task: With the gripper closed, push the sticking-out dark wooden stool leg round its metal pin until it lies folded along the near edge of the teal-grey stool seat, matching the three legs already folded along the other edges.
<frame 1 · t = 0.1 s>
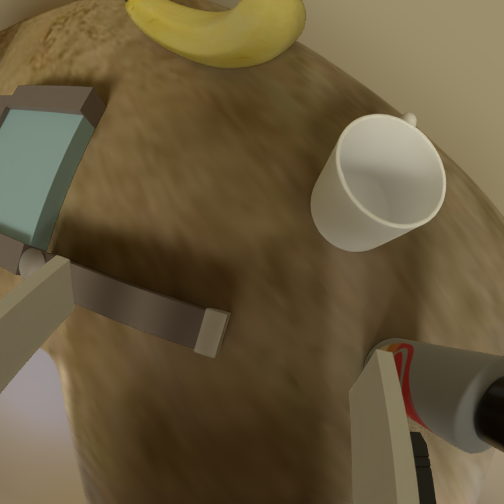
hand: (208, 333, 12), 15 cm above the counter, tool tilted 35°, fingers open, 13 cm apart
lotion bottle: (388, 366, 27), on the counter
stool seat: (29, 176, 30), on the counter
cup: (359, 194, 30), on the counter
folding leg: (114, 297, 25), point 2 cm above the counter, hinge at -90.0°
banana: (205, 55, 32), on the counter
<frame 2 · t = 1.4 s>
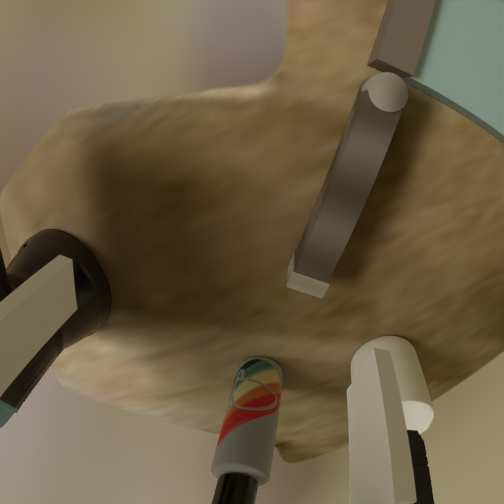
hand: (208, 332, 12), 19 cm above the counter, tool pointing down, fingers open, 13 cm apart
lotion bottle: (260, 370, 39), on the counter
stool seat: (480, 58, 20), on the counter
cup: (392, 364, 36), on the counter
folding leg: (347, 184, 25), point 2 cm above the counter, hinge at -90.0°
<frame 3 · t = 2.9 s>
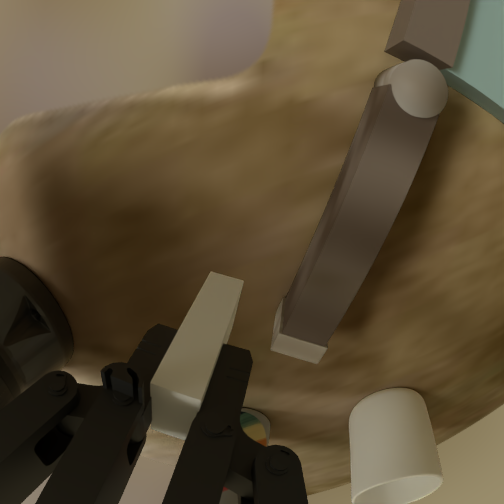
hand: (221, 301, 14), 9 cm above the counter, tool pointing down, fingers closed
lotion bottle: (245, 420, 32), on the counter
cup: (397, 414, 29), on the counter
folding leg: (355, 218, 18), point 2 cm above the counter, hinge at -90.0°
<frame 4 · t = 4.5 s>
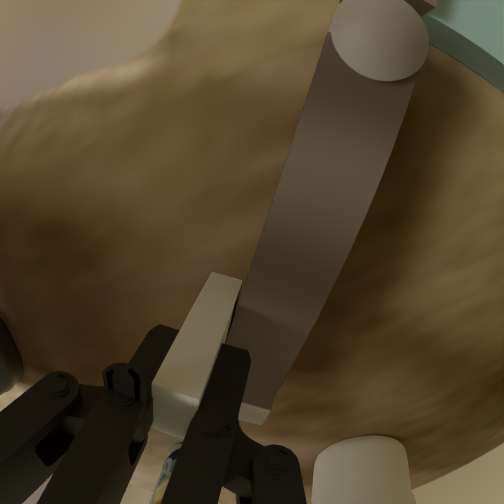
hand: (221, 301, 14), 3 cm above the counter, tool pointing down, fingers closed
lotion bottle: (199, 454, 27), on the counter
cup: (373, 459, 23), on the counter
folding leg: (298, 243, 13), point 2 cm above the counter, hinge at -88.3°, touching gripper
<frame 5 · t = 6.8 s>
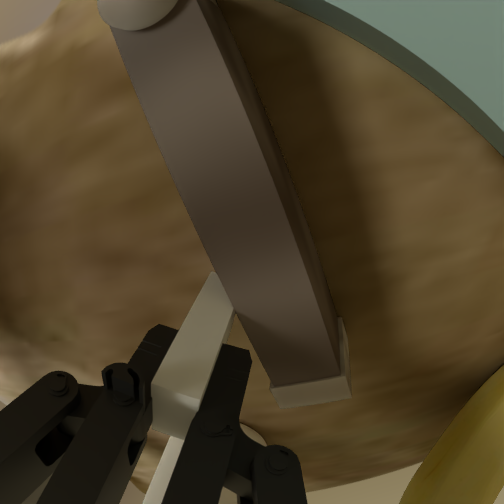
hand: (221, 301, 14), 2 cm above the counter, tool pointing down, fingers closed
cup: (238, 447, 25), on the counter
folding leg: (244, 192, 12), point 2 cm above the counter, hinge at -40.7°, touching gripper
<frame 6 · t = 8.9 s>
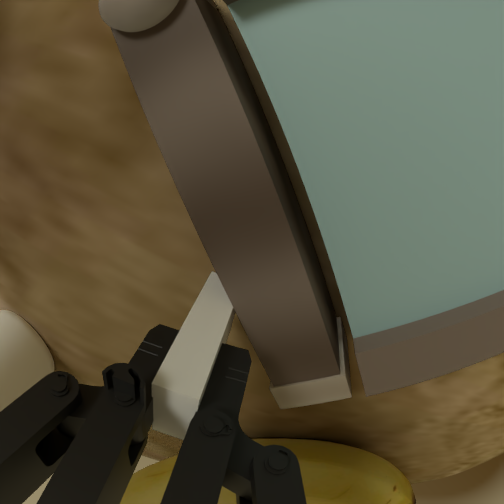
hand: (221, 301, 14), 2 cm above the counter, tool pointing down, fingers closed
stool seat: (440, 129, 12), on the counter
cup: (34, 357, 25), on the counter
folding leg: (243, 191, 12), point 2 cm above the counter, hinge at -0.3°, touching gripper
banana: (273, 442, 23), on the counter
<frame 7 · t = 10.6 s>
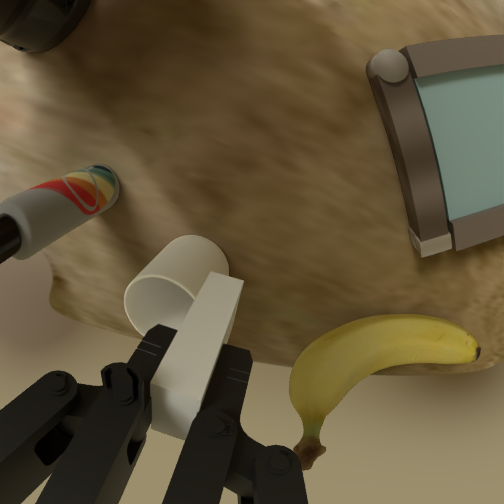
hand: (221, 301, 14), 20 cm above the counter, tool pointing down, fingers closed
lotion bottle: (102, 185, 36), on the counter
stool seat: (475, 135, 26), on the counter
cup: (199, 278, 39), on the counter
folding leg: (412, 152, 26), point 2 cm above the counter, hinge at -0.3°
banana: (386, 322, 37), on the counter
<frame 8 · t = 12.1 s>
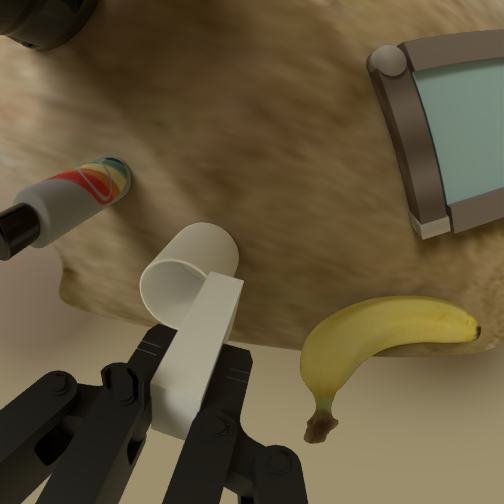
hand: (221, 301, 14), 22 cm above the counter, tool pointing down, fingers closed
lotion bottle: (114, 177, 37), on the counter
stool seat: (470, 124, 27), on the counter
cup: (210, 265, 40), on the counter
folding leg: (411, 141, 28), point 2 cm above the counter, hinge at -0.3°
banana: (389, 304, 39), on the counter
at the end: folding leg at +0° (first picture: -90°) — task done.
